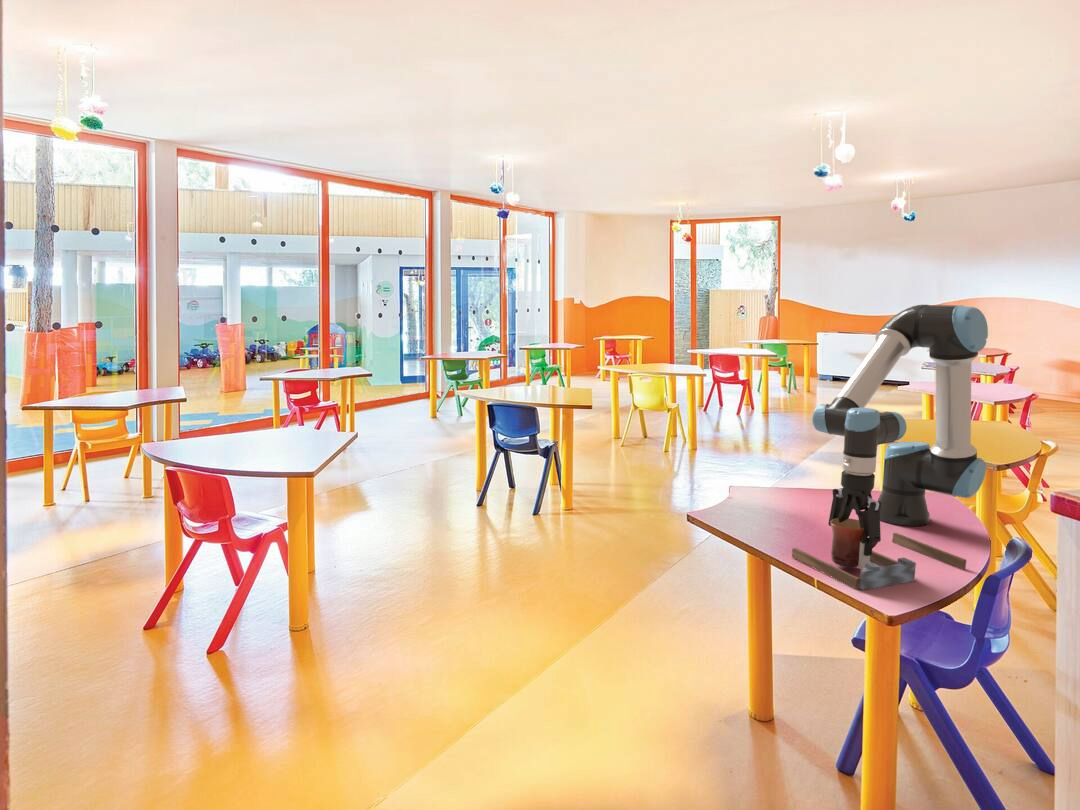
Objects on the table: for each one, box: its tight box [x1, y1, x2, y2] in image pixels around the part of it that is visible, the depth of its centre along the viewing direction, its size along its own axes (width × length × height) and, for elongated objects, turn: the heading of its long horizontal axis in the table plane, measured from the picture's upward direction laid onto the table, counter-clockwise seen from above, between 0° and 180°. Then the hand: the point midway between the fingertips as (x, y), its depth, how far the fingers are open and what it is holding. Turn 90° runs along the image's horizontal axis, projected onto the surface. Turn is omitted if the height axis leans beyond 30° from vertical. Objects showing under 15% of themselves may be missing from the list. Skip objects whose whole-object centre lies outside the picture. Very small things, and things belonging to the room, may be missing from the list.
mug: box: [830, 517, 879, 568], centre depth 192 cm, size 12×9×10 cm
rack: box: [791, 532, 967, 591], centre depth 196 cm, size 35×24×6 cm
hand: (851, 561), depth 194 cm, fingers closed on mug, 7 cm apart
